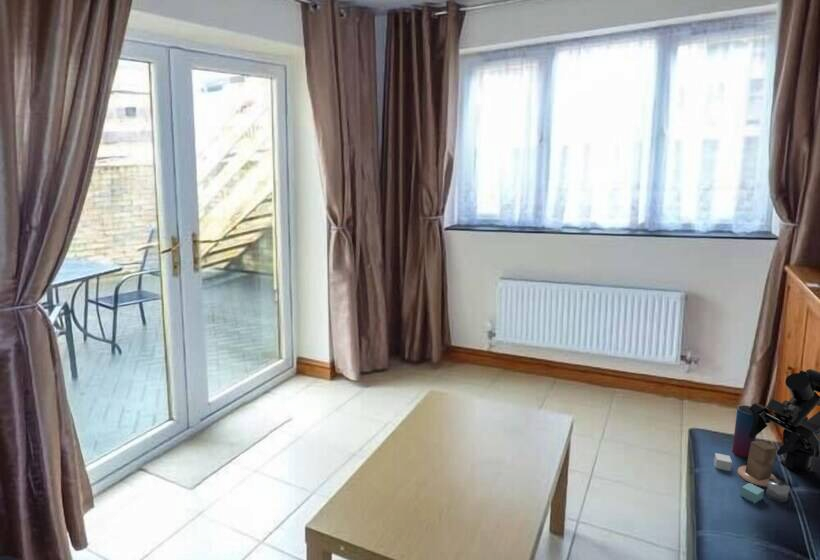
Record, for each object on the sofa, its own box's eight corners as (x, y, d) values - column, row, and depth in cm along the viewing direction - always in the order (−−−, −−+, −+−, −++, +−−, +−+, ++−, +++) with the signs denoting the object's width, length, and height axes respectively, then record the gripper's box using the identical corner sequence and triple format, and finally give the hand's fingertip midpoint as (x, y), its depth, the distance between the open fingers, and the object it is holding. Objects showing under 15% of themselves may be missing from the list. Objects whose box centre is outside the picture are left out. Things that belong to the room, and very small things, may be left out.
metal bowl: (772, 489, 159) (775, 476, 158) (790, 499, 155) (793, 486, 154) (761, 493, 157) (764, 481, 156) (779, 504, 153) (782, 491, 152)
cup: (757, 460, 174) (766, 416, 170) (733, 457, 175) (742, 413, 172) (749, 449, 180) (757, 406, 177) (726, 446, 182) (734, 403, 178)
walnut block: (756, 469, 168) (762, 439, 165) (770, 478, 163) (776, 447, 161) (745, 472, 166) (751, 441, 164) (758, 480, 162) (765, 449, 160)
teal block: (747, 492, 158) (749, 482, 157) (762, 499, 155) (764, 490, 154) (739, 496, 156) (741, 486, 155) (755, 504, 152) (757, 494, 152)
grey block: (713, 461, 173) (715, 452, 172) (728, 464, 171) (729, 455, 171) (715, 468, 169) (716, 459, 168) (730, 471, 168) (732, 462, 167)
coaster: (756, 465, 171) (757, 464, 171) (785, 485, 162) (785, 483, 161) (729, 469, 169) (730, 467, 168) (757, 488, 159) (757, 487, 159)
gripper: (759, 377, 169) (724, 415, 168) (820, 405, 152) (781, 447, 151) (774, 399, 173) (740, 435, 172) (835, 428, 156) (797, 469, 155)
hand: (763, 445), depth 163 cm, fingers open, 9 cm apart
